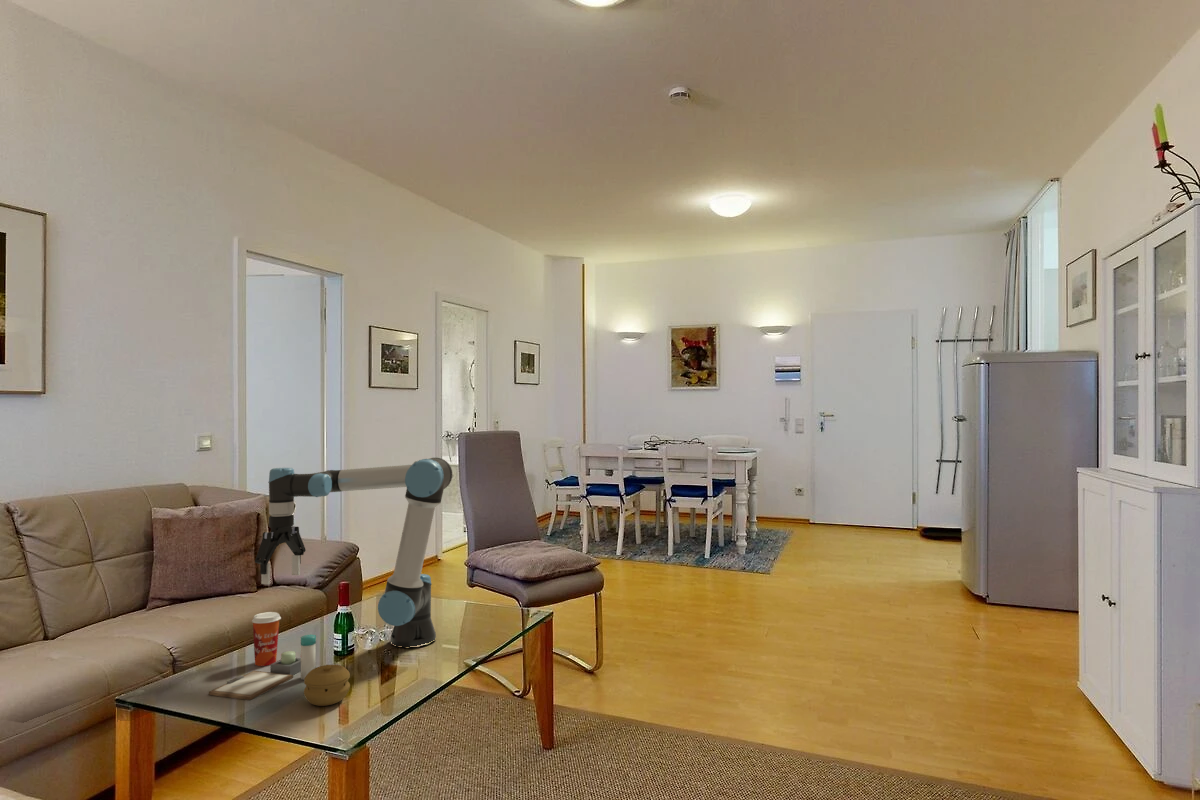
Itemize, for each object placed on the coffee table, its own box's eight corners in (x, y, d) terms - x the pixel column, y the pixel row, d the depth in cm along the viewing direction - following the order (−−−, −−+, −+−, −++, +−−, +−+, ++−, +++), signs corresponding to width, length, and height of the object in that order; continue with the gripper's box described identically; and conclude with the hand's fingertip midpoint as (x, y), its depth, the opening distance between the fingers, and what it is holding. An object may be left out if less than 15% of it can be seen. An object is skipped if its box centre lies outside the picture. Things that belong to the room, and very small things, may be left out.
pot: (350, 691, 197) (350, 655, 197) (349, 707, 186) (349, 669, 186) (305, 696, 193) (305, 660, 193) (301, 713, 182) (302, 675, 182)
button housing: (305, 668, 215) (305, 658, 215) (290, 676, 208) (290, 666, 208) (286, 666, 217) (286, 656, 217) (270, 674, 210) (270, 664, 210)
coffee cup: (251, 669, 214) (251, 620, 215) (250, 660, 221) (251, 613, 222) (281, 664, 218) (281, 616, 218) (279, 656, 225) (280, 610, 226)
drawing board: (293, 677, 207) (293, 672, 207) (250, 700, 191) (250, 694, 191) (253, 673, 211) (253, 668, 211) (208, 694, 194) (208, 689, 194)
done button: (298, 663, 214) (298, 651, 214) (289, 668, 210) (289, 656, 210) (287, 662, 215) (287, 650, 215) (278, 667, 211) (278, 654, 211)
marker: (318, 675, 209) (319, 635, 209) (309, 680, 205) (309, 639, 205) (306, 674, 210) (307, 634, 210) (297, 679, 206) (297, 638, 206)
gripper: (298, 509, 243) (298, 570, 243) (242, 519, 219) (242, 587, 219) (316, 510, 241) (316, 571, 240) (262, 520, 217) (261, 589, 217)
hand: (281, 579), depth 230 cm, fingers open, 13 cm apart
